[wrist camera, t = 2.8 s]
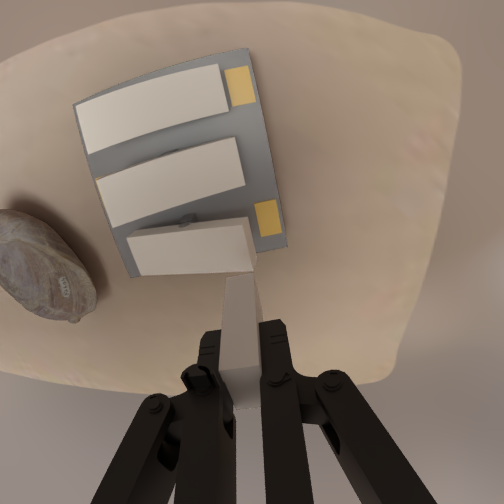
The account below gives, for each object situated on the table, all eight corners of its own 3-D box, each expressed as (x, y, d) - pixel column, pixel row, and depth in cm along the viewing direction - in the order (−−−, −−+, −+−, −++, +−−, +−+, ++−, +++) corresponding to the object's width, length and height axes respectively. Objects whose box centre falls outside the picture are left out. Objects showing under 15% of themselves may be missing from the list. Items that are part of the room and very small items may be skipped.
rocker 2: (115, 221, 21) (112, 228, 20) (100, 176, 20) (96, 180, 18) (239, 181, 23) (245, 185, 22) (229, 136, 22) (234, 137, 20)
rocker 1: (92, 152, 19) (88, 154, 17) (80, 107, 17) (75, 105, 16) (223, 112, 21) (228, 111, 19) (213, 68, 19) (217, 63, 18)
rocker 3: (150, 265, 26) (141, 275, 25) (136, 228, 25) (126, 237, 23) (258, 259, 23) (253, 271, 22) (248, 215, 22) (242, 224, 20)
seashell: (104, 333, 29) (-10, 280, 16) (41, 323, 32) (-51, 277, 18) (120, 254, 33) (31, 176, 20) (57, 257, 36) (-21, 199, 22)
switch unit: (139, 263, 30) (124, 288, 26) (87, 103, 23) (61, 105, 18) (283, 233, 29) (290, 256, 25) (246, 54, 22) (248, 42, 17)
